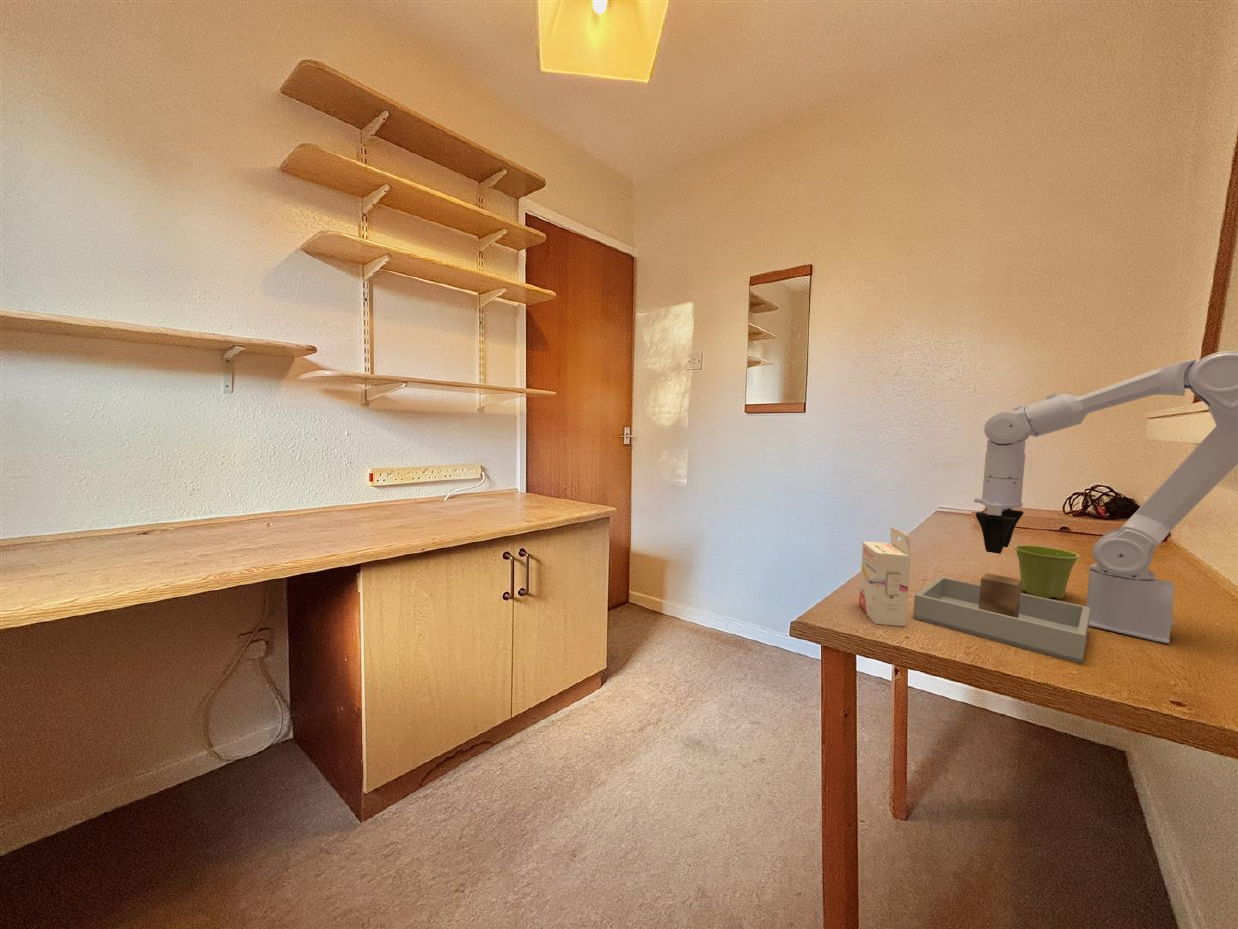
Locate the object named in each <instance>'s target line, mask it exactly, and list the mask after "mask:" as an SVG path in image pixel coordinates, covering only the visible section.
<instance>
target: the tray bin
mask: <svg viewBox="0 0 1238 929" xmlns="http://www.w3.org/2000/svg"><path fill="white" fill-rule="evenodd" d="M980 585H981V584H980V583H979V584H978V583H975V582H969V581H965V580H964V581H963V580H959V579H953V578H950V577H945V576H939V577H937V578H935V580H933V581H932V582H930V583H929V584H927V586H925V587H923V588H922V589H921V590H920V591H918V592H917V593H915V594H914V598H913V600H914V602H913V603H914V604H913V613H912V614H913V616H912V618H913V619H914V620H917V621H922V622H924V623H928V624H932V625H935V626H940V627H943V628H947V629H951V630H955V631H958V632H962V633H965V634H968V635H973V636H976V637H980V638H984V639H986V640H991V641H994V642H999V643H1002V644H1005V645H1009V646H1013V647H1017V648H1020V649H1024V650H1027V651H1031V652H1034V653H1039V654H1042V655H1046V656H1050V657H1054V658H1057V659H1061V660H1064V661H1068V662H1073V663H1075V664H1080V665H1083V664H1084V656H1085V653H1086V652H1085V651H1086V646H1087V640H1088V635H1089V634H1088V633H1089V627H1090V626H1089V616H1090V607H1086V605H1081V604H1076V603H1072V602H1071V603H1070V602H1067V601H1060V600H1056V599H1051V598H1043V597H1039V596H1034V595H1031V594H1029V593H1022V592H1021V594H1020V606H1019V617H1018V618H1016V617H1011V616H1007V615H1003V614H999V613H995V612H990V611H986V610H982V609H979V597H980Z"/></svg>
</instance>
